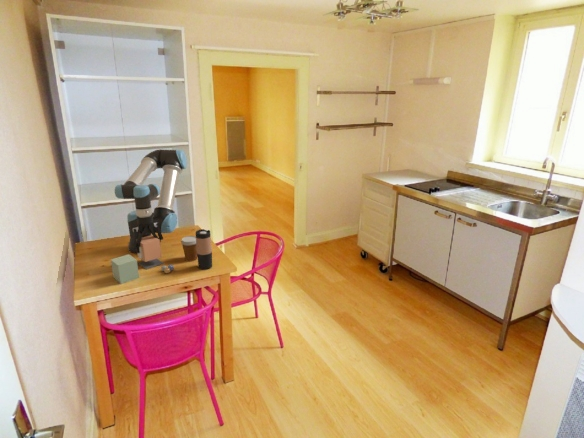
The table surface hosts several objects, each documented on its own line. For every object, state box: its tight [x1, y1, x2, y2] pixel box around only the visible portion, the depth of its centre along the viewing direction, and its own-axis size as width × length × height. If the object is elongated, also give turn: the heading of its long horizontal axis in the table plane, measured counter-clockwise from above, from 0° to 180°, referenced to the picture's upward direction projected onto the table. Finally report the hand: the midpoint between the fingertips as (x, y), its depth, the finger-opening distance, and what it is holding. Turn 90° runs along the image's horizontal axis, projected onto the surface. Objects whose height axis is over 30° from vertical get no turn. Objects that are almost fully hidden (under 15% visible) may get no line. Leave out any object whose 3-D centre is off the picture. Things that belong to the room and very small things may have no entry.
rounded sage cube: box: [110, 253, 140, 285], centre depth 184 cm, size 9×9×10 cm
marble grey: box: [160, 265, 168, 272], centre depth 192 cm, size 3×3×3 cm
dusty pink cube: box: [136, 234, 162, 262], centre depth 198 cm, size 9×9×10 cm
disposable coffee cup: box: [180, 235, 198, 262], centre depth 205 cm, size 10×10×12 cm
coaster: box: [137, 258, 164, 270], centre depth 201 cm, size 10×10×1 cm
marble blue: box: [167, 264, 175, 272], centre depth 193 cm, size 3×3×3 cm
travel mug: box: [195, 229, 213, 271], centre depth 195 cm, size 8×8×20 cm
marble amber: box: [163, 267, 171, 274], centre depth 190 cm, size 3×3×3 cm
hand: (149, 255), depth 199 cm, fingers closed on dusty pink cube, 9 cm apart
